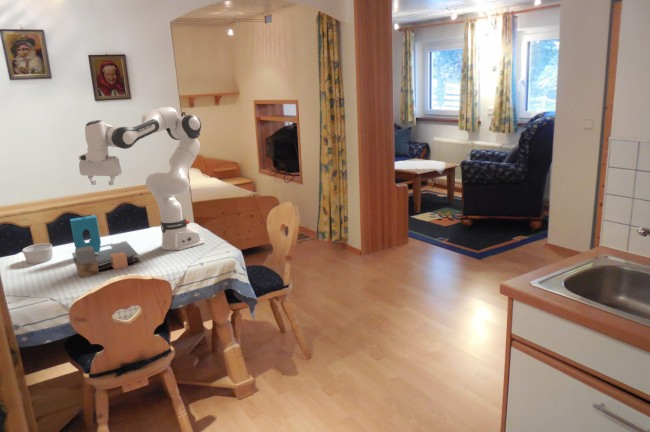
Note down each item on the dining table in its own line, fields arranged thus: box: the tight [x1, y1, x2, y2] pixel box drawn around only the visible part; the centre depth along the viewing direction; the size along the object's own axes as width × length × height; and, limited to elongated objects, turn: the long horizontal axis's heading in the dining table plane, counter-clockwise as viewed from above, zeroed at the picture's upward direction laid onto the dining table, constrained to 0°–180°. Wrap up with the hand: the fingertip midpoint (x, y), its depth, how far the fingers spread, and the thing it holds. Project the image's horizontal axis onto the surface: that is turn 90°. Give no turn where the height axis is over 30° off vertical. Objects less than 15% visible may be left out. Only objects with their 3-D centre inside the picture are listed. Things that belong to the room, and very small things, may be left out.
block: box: [69, 214, 102, 252], centre depth 260 cm, size 12×5×20 cm, turn 120°
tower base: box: [75, 260, 100, 278], centre depth 237 cm, size 8×8×6 cm
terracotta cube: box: [110, 251, 129, 270], centre depth 244 cm, size 6×6×6 cm
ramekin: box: [22, 242, 53, 265], centre depth 258 cm, size 13×13×7 cm
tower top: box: [74, 246, 97, 265], centre depth 235 cm, size 7×7×6 cm
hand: (102, 184), depth 244 cm, fingers open, 8 cm apart
